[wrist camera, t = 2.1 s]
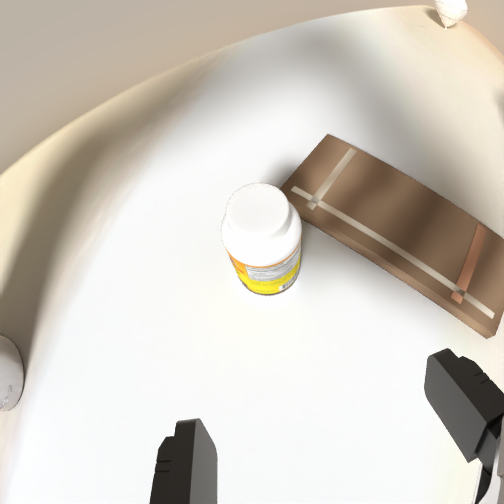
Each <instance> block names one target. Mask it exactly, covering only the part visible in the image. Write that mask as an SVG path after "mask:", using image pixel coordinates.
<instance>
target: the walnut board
mask: <svg viewBox="0 0 504 504" xmlns="http://www.w3.org/2000/svg"><path fill="white" fill-rule="evenodd" d="M279 190H281V191H282V192H283V193H284V195H285V196H286V198H287V200H288V201H289V202H290V203H291V204H292V205H293V206H294V207H295V209H296V210H297V212H298V214H299V216H300V218H302V219H303V220H305V221H307V222H309V223H310V224H312V225H314V226H315V227H317V228H319V229H320V230H322V231H324V232H325V233H327V234H329V235H330V236H332V237H334V238H335V239H337V240H338V241H340V242H342V243H343V244H345V245H347V246H348V247H350V248H351V249H353V250H355V251H356V252H358V253H359V254H361V255H363V256H364V257H366V258H367V259H369V260H371V261H372V262H374V263H375V264H377V265H379V266H380V267H382V268H383V269H385V270H386V271H388V272H389V273H391V274H393V275H394V276H396V277H397V278H399V279H400V280H402V281H403V282H405V283H406V284H408V285H409V286H411V287H412V288H414V289H415V290H417V291H418V292H420V293H421V294H423V295H424V296H426V297H427V298H429V299H430V300H432V301H433V302H435V303H436V304H438V305H439V306H441V307H442V308H444V309H445V310H446V311H448V312H449V313H451V314H452V315H454V316H455V317H457V318H458V319H459V320H461V321H462V322H464V323H465V324H467V325H468V326H469V327H471V328H472V329H474V330H475V331H476V332H478V333H479V334H481V335H482V336H483V337H485V338H486V339H487V338H490V337H492V336H495V334H496V331H497V329H498V326H499V323H500V320H501V317H502V315H503V312H504V239H502V238H501V237H500V236H498V235H497V234H496V233H494V232H493V231H492V230H490V229H489V228H488V227H486V226H485V225H483V224H482V223H481V222H479V221H478V220H476V219H475V218H474V217H472V216H471V215H469V214H468V213H466V212H465V211H463V210H462V209H460V208H459V207H457V206H456V205H454V204H453V203H451V202H450V201H448V200H447V199H445V198H444V197H442V196H440V195H439V194H437V193H436V192H434V191H432V190H431V189H429V188H428V187H426V186H424V185H423V184H421V183H419V182H418V181H416V180H414V179H413V178H411V177H409V176H407V175H406V174H404V173H402V172H400V171H399V170H397V169H395V168H393V167H392V166H390V165H388V164H386V163H384V162H382V161H381V160H379V159H377V158H375V157H373V156H371V155H369V154H367V153H365V152H364V151H362V150H360V149H358V148H356V147H354V146H352V145H350V144H348V143H346V142H344V141H342V140H339V139H337V138H335V137H333V136H331V135H329V134H327V135H326V136H325V137H324V139H323V140H322V141H321V142H320V143H319V144H318V145H317V147H316V148H315V149H314V150H313V151H312V152H311V153H310V155H309V156H308V157H307V158H306V159H305V160H304V161H303V163H302V164H301V165H300V166H299V167H298V168H297V170H296V171H295V172H294V173H293V174H292V175H291V176H290V178H289V179H288V180H287V181H286V182H285V183H284V185H283V186H282V187H281V188H280V189H279Z"/></svg>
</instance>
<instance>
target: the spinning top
mask: <svg viewBox="0 0 504 504" xmlns="http://www.w3.org/2000/svg"><path fill="white" fill-rule="evenodd" d="M434 2H435V6H436V9H437V12H438V14H439V16H440V19H441V21H442V22H443V24H444V26H445V30H446V28H447V27H449V26H451V25H453V24H455V23H457V22H458V21H460V20H461V19H462V18H463V17H464V16H465V15H466V14H467V11H468V7H467V4H466V2H465V0H434Z"/></svg>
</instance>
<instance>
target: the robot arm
mask: <svg viewBox="0 0 504 504" xmlns="http://www.w3.org/2000/svg"><path fill="white" fill-rule="evenodd" d="M23 374H24V373H23V364H22V360H21V356H20V354H19V351H18V349H17V347H16V346H15V344H14V343H13V342H12V341H11V340H10V339H8V338H7V337H4V336H1V335H0V411H8V410H10V409H12V408H13V407H14V406H15V405H16V404H17V402H18V400H19V398H20V396H21V392H22V388H23ZM424 390H425V395H426V397H427V400H428V401H429V403H430V404H431V406H432V407H433V409H434V410H435V412H436V413H437V415H438V416H439V418H440V419H441V421H442V422H443V424H444V425H445V427H446V429H447V430H448V432H449V433H450V435H451V436H452V438H453V439H454V441H455V443H456V444H457V446H458V447H459V449H460V450H461V452H462V454H463V455H464V457H465V458H466V460H467V462H468V463H469V462H471V461H473V460H474V459H476V458H479V460H480V461H481V463H480V466H479V472H478V477H477V482H476V487H475V491H474V495H473V500H472V504H504V393H503V392H502V391H501V390H500V389H499V388H498V387H497V385H496V384H495V383H494V382H493V381H492V380H490V379H489V377H488V376H487V374H486V373H485V372H484V373H483V370H482V369H481V368H480V367H479V366H478V365H477V364H476V363H475V362H474V361H472V360H470V359H468V358H466V357H464V356H462V357H460V358H458V357H457V356H456V355H455V354H454V353H453V352H452V351H451V350H450V349H448V348H446V349H444V350H442V351H439V352H437V353H435V354H432V355H430V356H429V357H428V359H427V368H426V376H425V384H424ZM156 461H157V463H156V466H155V474H154V478H153V484H152V491H151V497H150V503H149V504H217V452H216V448H215V445H214V443H213V441H212V439H211V437H210V436H209V434H208V432H207V430H206V428H205V427H204V425H203V423H202V421H201V420H200V419H199V418H198V419H190V420H182V421H178V422H177V423H176V428H175V434H174V436H170V437H166V438H165V439H164V441H163V442H162V444H161V446H160V447H159V449H158V455H157V460H156Z"/></svg>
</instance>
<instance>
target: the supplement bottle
mask: <svg viewBox="0 0 504 504" xmlns="http://www.w3.org/2000/svg"><path fill="white" fill-rule="evenodd" d="M221 235H222V240H223V243H224V245H225V248H226V250H227V252H228V254H229V257H230V259H231V261H232V263H233V266H234V268H235V270H236V272H237V274H238V277H239V279H240V281H241V282H242V284H243V285H244V286H245V287H246V288H247V289H248V290H249V291H251V292H253V293H255V294H257V295H261V296H274V295H278V294H281V293H283V292H285V291H286V290H288V289H289V288H290V287H291V286H292V285H293V284H294V282H295V281H296V279H297V276H298V274H299V269H300V256H301V238H302V225H301V220H300V216H299V214H298V212H297V210H296V209H295V207H294V206H293V205H292V204H291V203H290V202H289V201H288V200H287V198H286V196H285V195H284V193H283V192H282V191H281V190H279V189H278V188H277V187H275V186H273V185H270V184H266V183H252V184H248V185H246V186H243V187H241V188H240V189H238V190H237V191H236V192H235V193H234V194H233V195H232V196H231V197H230V199H229V201H228V203H227V207H226V214H225V216H224V218H223V221H222V225H221Z"/></svg>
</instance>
